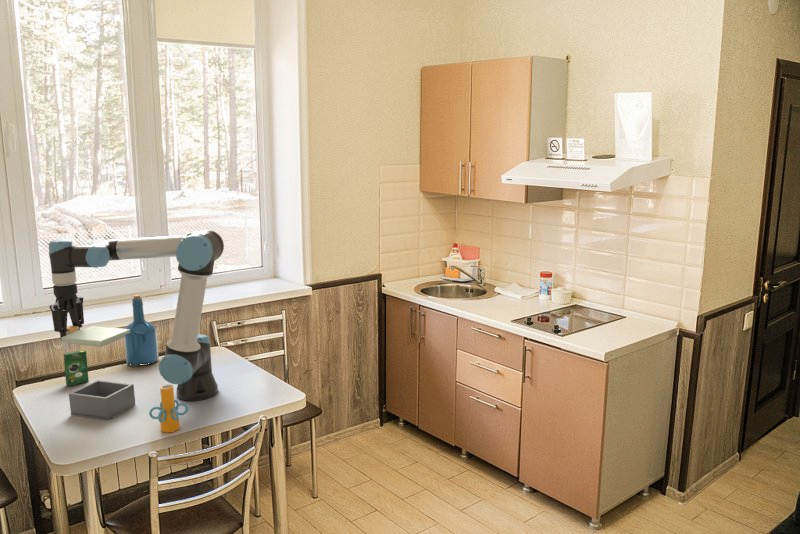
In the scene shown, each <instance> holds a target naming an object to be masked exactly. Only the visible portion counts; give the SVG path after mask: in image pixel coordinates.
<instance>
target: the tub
mask: <svg viewBox="0 0 800 534" xmlns="http://www.w3.org/2000/svg"><path fill="white" fill-rule="evenodd" d="M68 398H69V399H68V400H69V406H70V407H69V408H70V415H71V416H76V417H83V418H89V419H95V420H97V419H98V420H104V421H110V420H111V419H114V418H115V417H117V416H119V415H120V414H122V413H124V412H126V411H127V410H129V409H131V408H133V407H135V406H136V398H135V387H134V384H132V383H126V382H117V381H107V380H101V379H98V380H95V381H93V382H91V383H89V384H86V385H84V386H82V387H80V388H78V389H76V390H74V391H71V392H70V393H68Z"/></svg>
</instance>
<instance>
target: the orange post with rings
mask: <svg viewBox="0 0 800 534" xmlns="http://www.w3.org/2000/svg"><path fill="white" fill-rule="evenodd" d="M174 391H175V390H174V384H165V385H161V386H160V398H161V400H160V404H159V406H154V407H151V409H150V410H149V417H150V418H151V419H154V420H158V422H159V423H160V424H159V425H160V431H161V432H162V433H165V434H169V433H170V434H171V433H173V432H177V431H179V429H180V428H181V427H180V426H181V425H180V417H179V416H185V415H186V414H187V413H188V411H189V407H188V404H186V403H185V402H181V403H179V401H178V400H177V399H175V394H174V393H175V392H174ZM175 404H176V405H175ZM180 406H183V407H185V408H184V409H185V410H184V411H183V412H179V411H178V410H179V408H180ZM154 410H159V412H158V415H157V416H154V415H153V411H154Z"/></svg>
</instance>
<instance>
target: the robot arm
mask: <svg viewBox="0 0 800 534" xmlns="http://www.w3.org/2000/svg"><path fill="white" fill-rule="evenodd" d="M224 249H225V244H224V240H223V238H222V236H221V235H220V234H219V233H218V232H216V231H214V230H211V229H203V230H199V231H189V232H187V233H186V234H185V235H184V234H183V235H173V236H172V235H169V236H155V237H154V236H153V237H138V238H137V237H136V238H123V239H122V238H120V239H116V238H107V239H104V240H102V241H99V242H95V243H92V244H89V245H74V243H73V241H72V240H71V239H64V238H63V239H54V240H51V241H50V242H49V243H48V256H49V261H50V269H51V279H52V284H53V286H52V288H53V296H55V302H54V304H50V305H49V310H50V311H51V317H52V322H53V323H52V324H53V330H54V332H55V333H56V332H57V333H59V336H60V342H61V344H62V350H67V351H70V350H71V344H69V341H62V340H61V337H64V336H66V335H69V332H67V326H68V315H69V318H70V321H71V326H78V327H79V330H81V328H83V325H84V324H85V317H84V306H83V305H84V297H81V296H78V295H77V294H78V284H77V275H76V268H94V269H95V268H96V269H97V268H104V267H107V266H108V263H109V262H110V261H121V260H136V259H137V260H138V259H139V260H140V259H156V258H172V257H176V261H177V262H178V266H177V270H178V272H179V273H180V275H181V277H180V282H179V283H180V284H179V290H178V296H177V302H176V309H175V316H174V322H173V327H172V335H171V338H170V339H169V340H167V342H166V345H165V351H164V356H162V358H161V359H160V361H159V364H158V372H159V374H160V376H161V377H162V378H163V380H165V381H166V382H167V383H168V384H171V385H177V386H176V397H177V399H180V400H182V401H190V402H191V401H194V402H195V401H203V400H207V399H209V398H213V397H214V396H215V395H217V394H218V392H219V387H218V386H219V385H218V383H217V381H216V379H215V377H214V374H213V369H212V366H213V365H212V354H211V353H212V351H211V345H212V344H211V342H210V341H211V339H210V336H208V335H207V334H201V333H199V331H200V327H201V326H200V324H201V319H202V313H203V308H204V307H203V306H204V301H205V300H204V299H205V293H206V288H207V287H206V286H207V281H208V278H210V277H211V276H213V271H214V266H215V261H217V260H218V259H219V258H220V257H221V256H222V254H223V252H224ZM68 313H69V314H68ZM62 328H63V329H62ZM72 345H73V346H77V347H80V346H81V345H75V344H72Z"/></svg>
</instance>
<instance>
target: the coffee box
mask: <svg viewBox="0 0 800 534" xmlns="http://www.w3.org/2000/svg"><path fill="white" fill-rule="evenodd" d="M63 364H64V366H63V367H64V373H65V374H64V375H65V376H64V377H65V384H66V386H67V385H68V386H67V387H71V385H73V386H75V385H74V384H76V385H79V383H81V384H85V383H89V382H88V381H90V380H89V371H88V357H87V351H86V350H84V349H81V350H76V351H71V352H66V353H63ZM84 382H85V383H84Z"/></svg>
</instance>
